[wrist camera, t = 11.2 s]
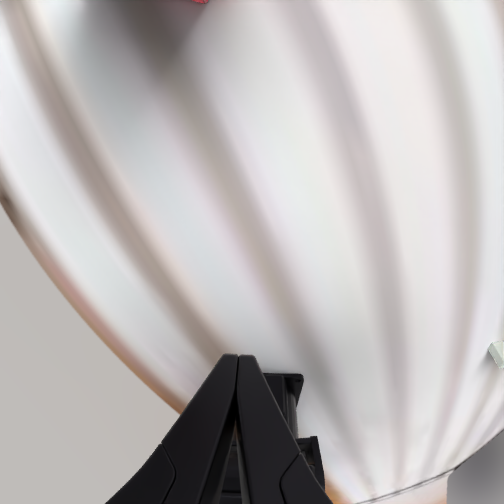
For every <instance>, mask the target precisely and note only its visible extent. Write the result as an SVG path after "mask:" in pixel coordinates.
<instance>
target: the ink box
mask: <svg viewBox="0 0 504 504" xmlns="http://www.w3.org/2000/svg"><path fill="white" fill-rule="evenodd" d="M193 1H196V2H200V3H207V2H208V0H193Z"/></svg>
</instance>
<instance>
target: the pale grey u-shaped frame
mask: <svg viewBox="0 0 504 504" xmlns="http://www.w3.org/2000/svg"><path fill="white" fill-rule="evenodd" d="M488 350H489V352H490V354H491V355H492V357H493V359H494V360H495V362H496V364H497V365H498V367H499V369H501V368H504V341H500V342H494V343H492V344H491V345H490V347H489V349H488Z"/></svg>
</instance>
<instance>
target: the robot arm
mask: <svg viewBox="0 0 504 504" xmlns="http://www.w3.org/2000/svg"><path fill="white" fill-rule="evenodd" d="M303 382H304V378H303V375H301V374H274V373H262V371H261V369H260V367H259V365H258V362H257V360H256V358H255V357H254V356H253V355H240V356H238V355H237V354H223V355H222V357H221V358H220V360H219V361H218V362H217V364H216V365H215V367H214V368H213V370H212V371H211V373H210V374H209V375H208V377H207V378H206V380H205V381H204V383H203V384H202V385H201V387H200V388H199V390H198V391H197V393H196V394H195V395H194V397H193V398H192V400H191V401H190V403H189V404H188V405H187V407H186V408H185V410H184V411H183V412H182V414H181V415H180V417H179V418H178V420H177V421H176V422H175V424H174V425H173V426H172V428H171V429H170V430H169V432H168V433H167V435H166V436H165V437H164V439H163V440H162V442H161V443H162V444H159V445H158V447H157V448H156V449H155V451H154V452H153V453H152V455H151V456H150V457H149V459H148V460H147V461H146V462H145V464H144V465H143V466H142V467H141V468H140V469H139V471H138V472H137V473H136V474H135V475H134V476H133V477H132V478H131V479H130V480H129V481H128V482H127V483H126V484H125V485H124V486H123V487H122V488H121V489H120V490H119V491H118V492H117V493H116V494H115V495H114V496H113V497H112V498H110V499H109V500H108V501H107V502H106V503H105V504H333V503H332V501H331V500H330V499H329V497H328V496H327V494H326V493H325V479H324V471H323V465H322V460H321V454H320V449H319V443H318V438H317V436H310V438H298V427H297V413H296V407H297V404H298V400H299V397H300V393H301V389H302V386H303Z"/></svg>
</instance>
